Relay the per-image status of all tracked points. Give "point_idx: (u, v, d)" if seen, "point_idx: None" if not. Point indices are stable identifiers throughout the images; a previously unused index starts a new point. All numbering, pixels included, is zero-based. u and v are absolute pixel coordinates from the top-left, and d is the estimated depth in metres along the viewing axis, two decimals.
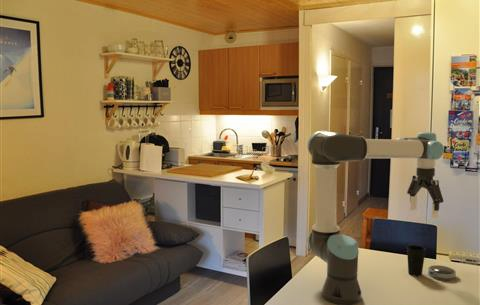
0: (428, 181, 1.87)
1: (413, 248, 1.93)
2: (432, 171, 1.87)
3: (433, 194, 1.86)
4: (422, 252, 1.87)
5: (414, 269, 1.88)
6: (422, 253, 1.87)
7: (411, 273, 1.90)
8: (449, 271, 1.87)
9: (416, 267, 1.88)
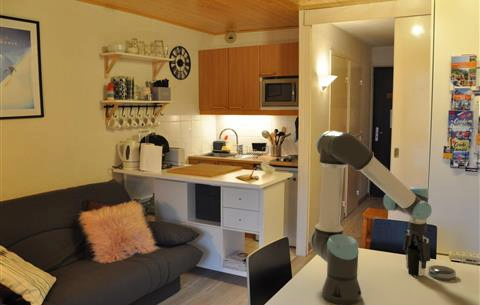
0: (420, 236, 1.86)
1: (413, 248, 1.93)
2: (424, 227, 1.85)
3: (422, 252, 1.86)
4: None
5: (414, 269, 1.88)
6: None
7: (411, 273, 1.90)
8: (449, 271, 1.87)
9: (416, 267, 1.88)
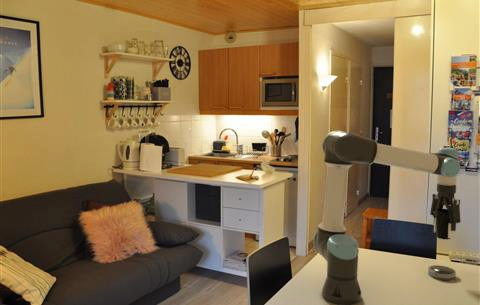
0: (449, 198, 1.82)
1: (441, 211, 1.89)
2: (453, 188, 1.81)
3: (451, 214, 1.82)
4: None
5: (443, 232, 1.84)
6: None
7: (440, 236, 1.86)
8: (449, 271, 1.87)
9: (445, 230, 1.84)
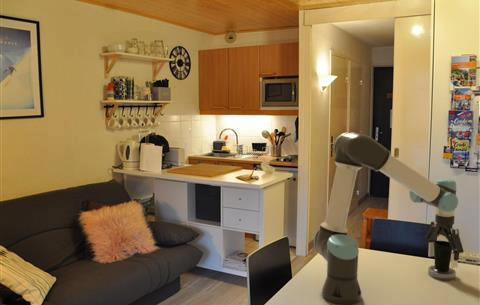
0: (447, 229, 1.83)
1: (439, 243, 1.91)
2: (452, 219, 1.83)
3: (453, 243, 1.82)
4: (449, 247, 1.84)
5: (441, 264, 1.86)
6: (449, 248, 1.85)
7: (438, 269, 1.87)
8: (449, 271, 1.87)
9: (443, 262, 1.86)
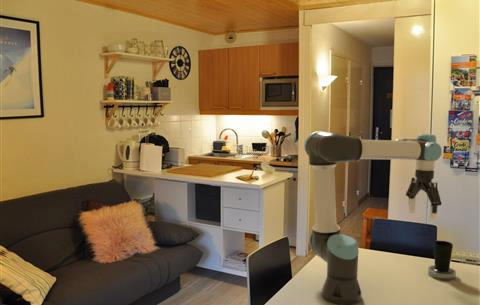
0: (427, 183, 1.85)
1: (439, 243, 1.91)
2: (431, 173, 1.85)
3: (431, 196, 1.83)
4: (449, 247, 1.84)
5: (441, 264, 1.86)
6: (449, 248, 1.84)
7: (438, 269, 1.87)
8: (449, 271, 1.87)
9: (443, 263, 1.86)
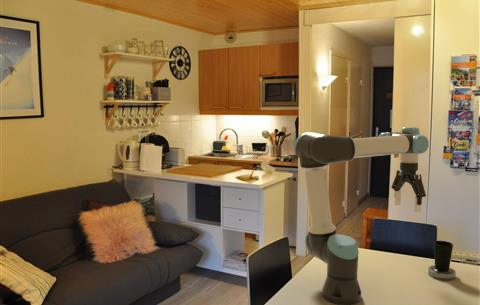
0: (411, 175, 1.88)
1: (440, 243, 1.91)
2: (415, 165, 1.88)
3: (416, 188, 1.86)
4: (450, 247, 1.84)
5: (442, 264, 1.86)
6: (450, 248, 1.84)
7: (438, 269, 1.87)
8: (449, 271, 1.87)
9: (443, 263, 1.86)
